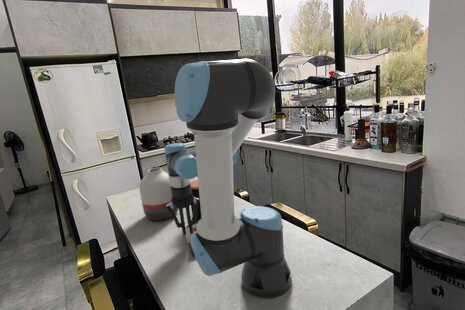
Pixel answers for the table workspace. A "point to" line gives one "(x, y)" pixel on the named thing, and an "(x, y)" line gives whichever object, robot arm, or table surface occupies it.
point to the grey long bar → (191, 234)
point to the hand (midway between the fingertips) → (188, 241)
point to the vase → (156, 195)
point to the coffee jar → (196, 194)
